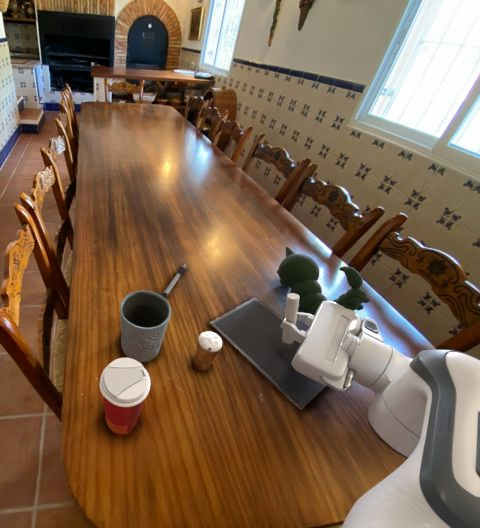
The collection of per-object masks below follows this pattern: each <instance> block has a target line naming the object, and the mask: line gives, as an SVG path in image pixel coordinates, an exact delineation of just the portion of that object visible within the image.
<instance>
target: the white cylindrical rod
mask: <svg viewBox="0 0 480 528" xmlns="http://www.w3.org/2000/svg"><path fill="white" fill-rule="evenodd" d="M288 293H289V294H288ZM288 293H287V294H288V295H287V294H286V296H287V297H286V301H285V310H284V318H283V319H285V318H287V319H289V320H291V321H293V322H294V323H293V325H294V326H295V327H296V328H297V321H298V320H297V313H298V307H299V306H300V305H299V298H300V297H299V295H298V294H295V293H290V292H288ZM293 342H294V339H293V338H292V336H291V335H290V334H289V333H288V331H286V330H284V329H283V336H282V345H283V346H284V347H286V348H291V347H293Z"/></svg>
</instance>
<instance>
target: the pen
mask: <svg viewBox="0 0 480 528" xmlns="http://www.w3.org/2000/svg"><path fill="white" fill-rule="evenodd" d="M186 269H187V264H186V263H185V264H182V265H181V267H180V268H179V270H178V271H177V273H176V275H175V276H174V277H173V279H172V280H171V281H170V283H169V284H168V285H167V287H166V289H165V290H164V292H163V293H162V295H161V296H162V297H164V298H165V299H166V298H167V297H168V296H169V294H170V292H171V291H172V290H173V288H174V286H175V285H176V284H177V282H178V280H180V278H181V276H182V274H183V273H184V271H186Z"/></svg>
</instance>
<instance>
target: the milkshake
mask: <svg viewBox="0 0 480 528" xmlns="http://www.w3.org/2000/svg"><path fill="white" fill-rule="evenodd" d="M222 347H223V340H222V337H221V336H220V335H219V334H218V333H217V332H213V331H211V330H210V331H203V332H201V333H200V334H199V335H198V340H197V346H196V350H195V355H194V360H193V365H194V367H195V369H197V370H198V371H201V372H205V371H207V370H208V369H210V367H211V365H212V363H214V360H215V359H216V357H217V355H218V354H219V352H220V351H221V349H222Z"/></svg>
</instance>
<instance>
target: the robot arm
mask: <svg viewBox="0 0 480 528" xmlns="http://www.w3.org/2000/svg"><path fill="white" fill-rule="evenodd" d="M332 301H333V300H327V301H323V302H322V303H321V305H320V306H319V307H318V309H317V311H316V313H315V315H312V314H310V313H302V312H298V313H297V320H296V321H298V322H302V323H303V325H305V326H307V327H308V328H307V329H306V331H305V330H303V329H301V330H299V329H298V327H297V326H296V327H295V326H294V325H293V323H294V322H293V321H291V320H289V319H287V318H285V317H284V318H285V319H284V318H283V319H284V320H283V322H282V324H281V325H280V327H281V328H282V329H284V330H286V331H288V333H289V334H290V335H291V336H292V338H293V339H294V340H295V341H297V342H299V343H301V344H300V346H299V348H298V350H297V352H296V354H295V356H294V358H293V360H292V362H291V364H292V366H293V367H294V369H295V370H296V371H298V372H299V373H301V374H303V375H305V376H307V377H309V378H311V379H313V380H315V381H317V382H319V383H322V384H324V385H327V386H326V387H328V388H330V389H332V390H334V391H336V392H346V391H350V390H351V388H352V382H355V383H357V384H358V385H360V386H361V387H364V388H365V389H368V390H371V391H372V392H373V394H374V398H373V399H372V401H370V403H369V405H368V408H367V410H366V413H365V415H366V420H367V424H368V426H369V429H371V431H372V433H373V434H374V436H375V437H376V438H377V439H378V441H380V442H381V443H382V444H383V445H384V446H385V447H387V448H388V449H389V450H391V451H392V452H393V453H395V454H397V455H399V456H400V457H402V458H405V459H406V460H405V461H403V463H402V464H401V465H399V466H398V467H397V468H396V469H395V470H394V471H392V472H391V473H390V474H389V475H387V476H386V477H385V478H384V479H382V480H381V481H379V482H378V483H376V484H375V485H374V486H373V487H371V488H370V489H369V490H368V491H367V492H365V493H364V494H362V495H361V496H360V497H359V498H357V500H356V501H355V502H354V504H353V505H352V507H351V508H350V510H349V512H348V514H347V516H346V517H345V519H344V521H343V523H342V526H341V527H340V528H480V358H478V357H476V356H474V355H472V354H470V353H467V352H463V351H460V350H454V349H425V350H424V349H423V350H420V351H419V352H418V353H417V354H416V356H415V357H413V358H411V357H409V356H406V355H404V354H403V353H401V352H400V351H399V350H397V349H396V348H395V347H393V346H391V345H389V344H388V343H385V340H384V338H383V336H382V334H381V331H380V330H379V325H378V323H377V322H376V321H375V320H374V319H372V318H370V317H367V316H366V317H363V318H362V316H361V315H360V314H359V313H357V312H355V310H354V311H352V310H350V309H346V308H344V307H343V306H341V305H339V304H337V303H335V302H332Z"/></svg>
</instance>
